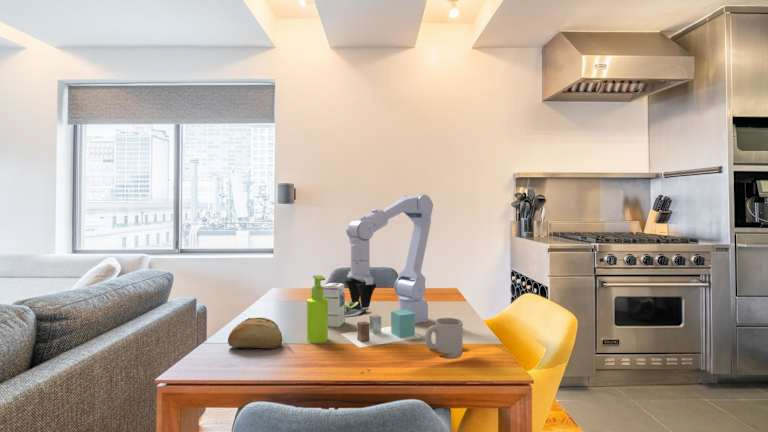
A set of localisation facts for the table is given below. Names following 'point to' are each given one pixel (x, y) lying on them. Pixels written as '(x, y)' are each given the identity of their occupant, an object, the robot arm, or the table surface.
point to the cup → (446, 337)
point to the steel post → (375, 324)
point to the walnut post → (363, 331)
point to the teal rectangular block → (403, 323)
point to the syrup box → (335, 303)
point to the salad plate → (354, 309)
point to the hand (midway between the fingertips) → (360, 304)
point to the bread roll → (256, 334)
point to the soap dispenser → (317, 314)
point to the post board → (377, 338)
